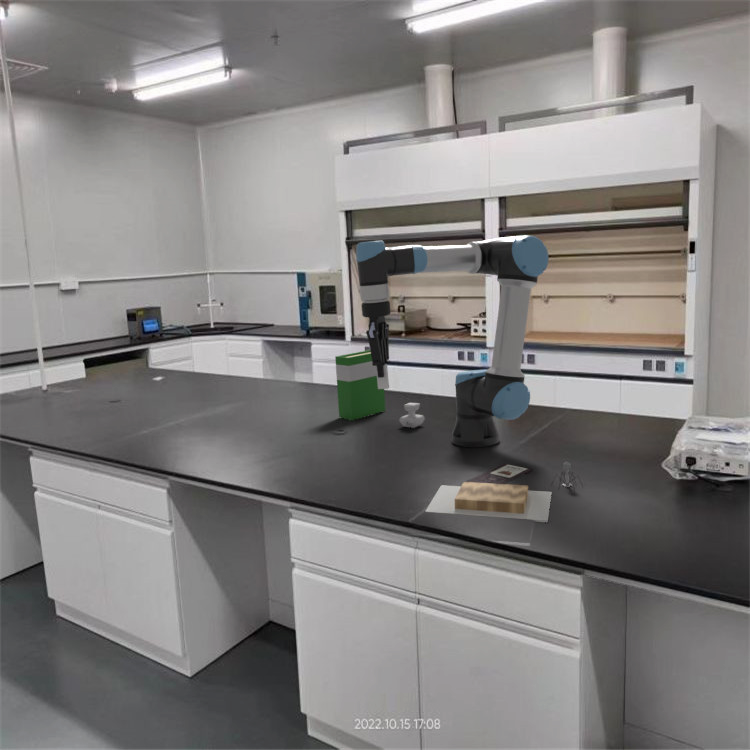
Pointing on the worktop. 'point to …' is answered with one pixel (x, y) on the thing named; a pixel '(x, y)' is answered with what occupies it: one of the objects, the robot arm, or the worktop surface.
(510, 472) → the chocolate bar
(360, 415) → the hardback book
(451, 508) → the mat
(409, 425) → the stamp
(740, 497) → the worktop surface
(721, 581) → the worktop surface
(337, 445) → the worktop surface
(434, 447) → the worktop surface
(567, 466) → the bacteriophage
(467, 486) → the plaque
